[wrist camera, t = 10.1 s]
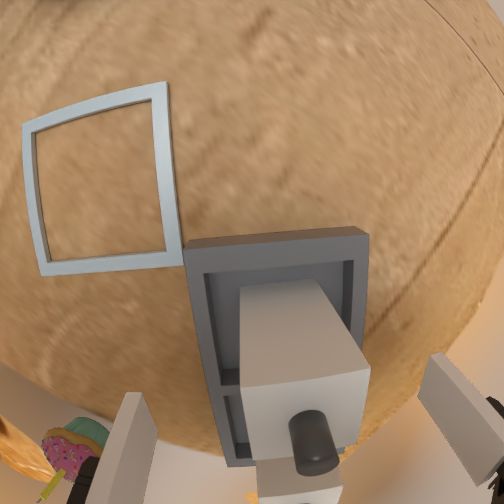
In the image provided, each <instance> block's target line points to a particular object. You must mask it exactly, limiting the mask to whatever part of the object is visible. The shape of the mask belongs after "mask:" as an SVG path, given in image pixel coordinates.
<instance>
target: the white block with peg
mask: <svg viewBox="0 0 504 504" xmlns="http://www.w3.org/2000/svg"><path fill="white" fill-rule="evenodd" d="M370 372H371V367H370V365H369V363H368V362H367V360H366V359H365V357H364V355H363V354H362V352H361V350H360V349H359V347H358V346H357V344H356V342H355V341H354V339H353V337H352V336H351V334H350V333H349V331H348V329H347V328H346V326H345V325H344V323H343V322H342V320H341V318H340V317H339V315H338V314H337V312H336V311H335V309H334V307H333V306H332V304H331V303H330V301H329V300H328V298H327V297H326V295H325V293H324V292H323V290H322V289H321V287H320V286H319V284H318V283H317V281H316V280H315V278H313V279H304V280H296V281H287V282H278V283H269V284H260V285H250V286H240V391H241V397H242V403H243V408H244V414H245V420H246V425H247V431H248V436H249V442H250V447H251V452H252V458H253V460H264V459H274V458H283V457H290V456H294V460H295V466H296V471H297V473H298V474H300V475H302V476H308V477H311V476H319V475H322V474H325V473H328V472H330V471H331V470H333V469H334V468H336V467H337V465H338V464H339V457H338V453H337V450H336V449H337V448H341V447H346V446H350V445H354V444H357V441H358V436H359V432H360V427H361V422H362V418H363V413H364V407H365V402H366V397H367V391H368V385H369V378H370Z"/></svg>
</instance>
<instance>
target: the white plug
mask: <svg viewBox="0 0 504 504" xmlns="http://www.w3.org/2000/svg"><path fill="white" fill-rule="evenodd" d="M256 473H257V487H258V500H259V504H337V503H338V500H339V498H340V495H341V492H342V489H343V482H342V479H341V475H340V472H339V468H338V465H337V467H336V468H334V469H333V470H331V471H330V472H328V473H325V474H322V475H319V476H311V477H308V476H302V475H300V474H298V473H297V471H296V466H295V460H294V456H290V457H283V458H274V459H264V460H256Z"/></svg>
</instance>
